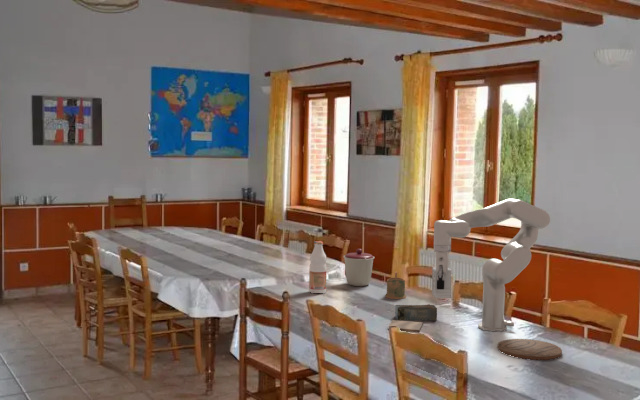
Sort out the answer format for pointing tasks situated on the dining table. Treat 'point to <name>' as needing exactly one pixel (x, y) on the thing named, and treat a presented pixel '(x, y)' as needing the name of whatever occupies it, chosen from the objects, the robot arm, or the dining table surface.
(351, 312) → the dining table surface
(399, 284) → the rusty metal bell
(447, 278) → the supplement box
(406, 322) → the tan square board
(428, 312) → the beverage carton
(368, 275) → the canister
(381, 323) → the dining table surface
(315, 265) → the fruit juice
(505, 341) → the trivet
